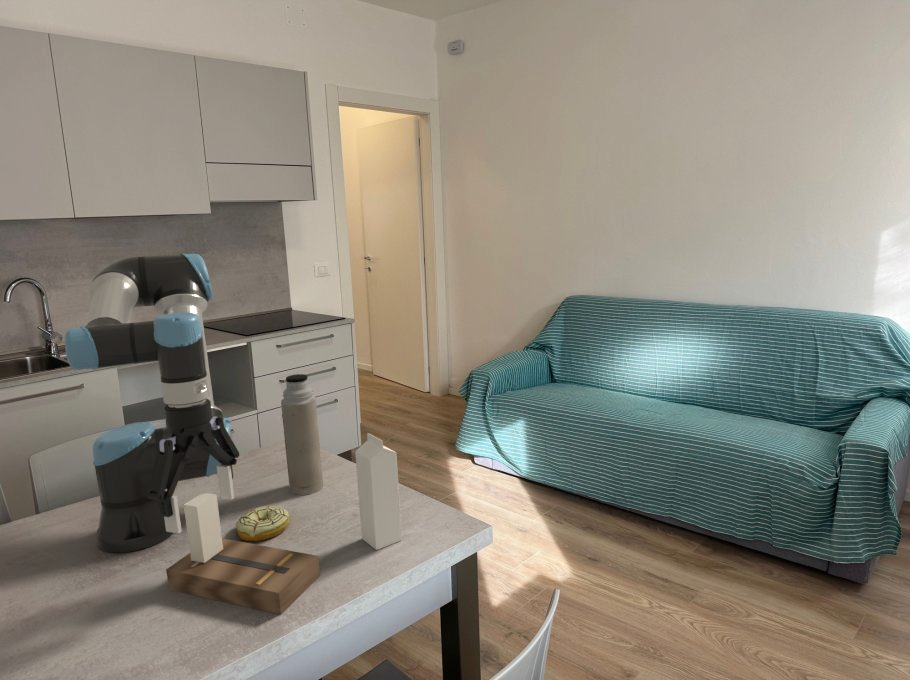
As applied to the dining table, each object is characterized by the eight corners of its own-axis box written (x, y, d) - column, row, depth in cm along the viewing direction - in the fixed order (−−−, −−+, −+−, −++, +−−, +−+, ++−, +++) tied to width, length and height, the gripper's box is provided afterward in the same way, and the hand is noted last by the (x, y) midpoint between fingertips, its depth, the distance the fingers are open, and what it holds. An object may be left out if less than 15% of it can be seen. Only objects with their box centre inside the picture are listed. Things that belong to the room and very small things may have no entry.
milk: (376, 550, 126) (368, 445, 121) (361, 538, 131) (353, 436, 126) (402, 540, 130) (395, 436, 125) (387, 528, 134) (379, 428, 130)
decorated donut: (227, 532, 136) (225, 516, 135) (273, 514, 143) (271, 498, 143) (252, 549, 129) (250, 531, 128) (299, 528, 136) (297, 512, 135)
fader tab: (191, 560, 117) (183, 504, 115) (210, 546, 122) (203, 492, 119) (204, 563, 116) (196, 506, 114) (223, 549, 121) (216, 494, 118)
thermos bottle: (284, 494, 152) (272, 380, 147) (297, 480, 160) (286, 371, 154) (316, 495, 151) (306, 380, 146) (327, 481, 159) (318, 371, 153)
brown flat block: (169, 589, 116) (166, 568, 115) (215, 555, 127) (212, 536, 126) (281, 614, 107) (278, 592, 106) (320, 575, 118) (318, 555, 117)
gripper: (147, 426, 100) (165, 551, 104) (250, 384, 123) (262, 488, 127) (111, 422, 103) (130, 544, 107) (219, 382, 125) (231, 483, 130)
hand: (202, 514), depth 117 cm, fingers open, 13 cm apart
